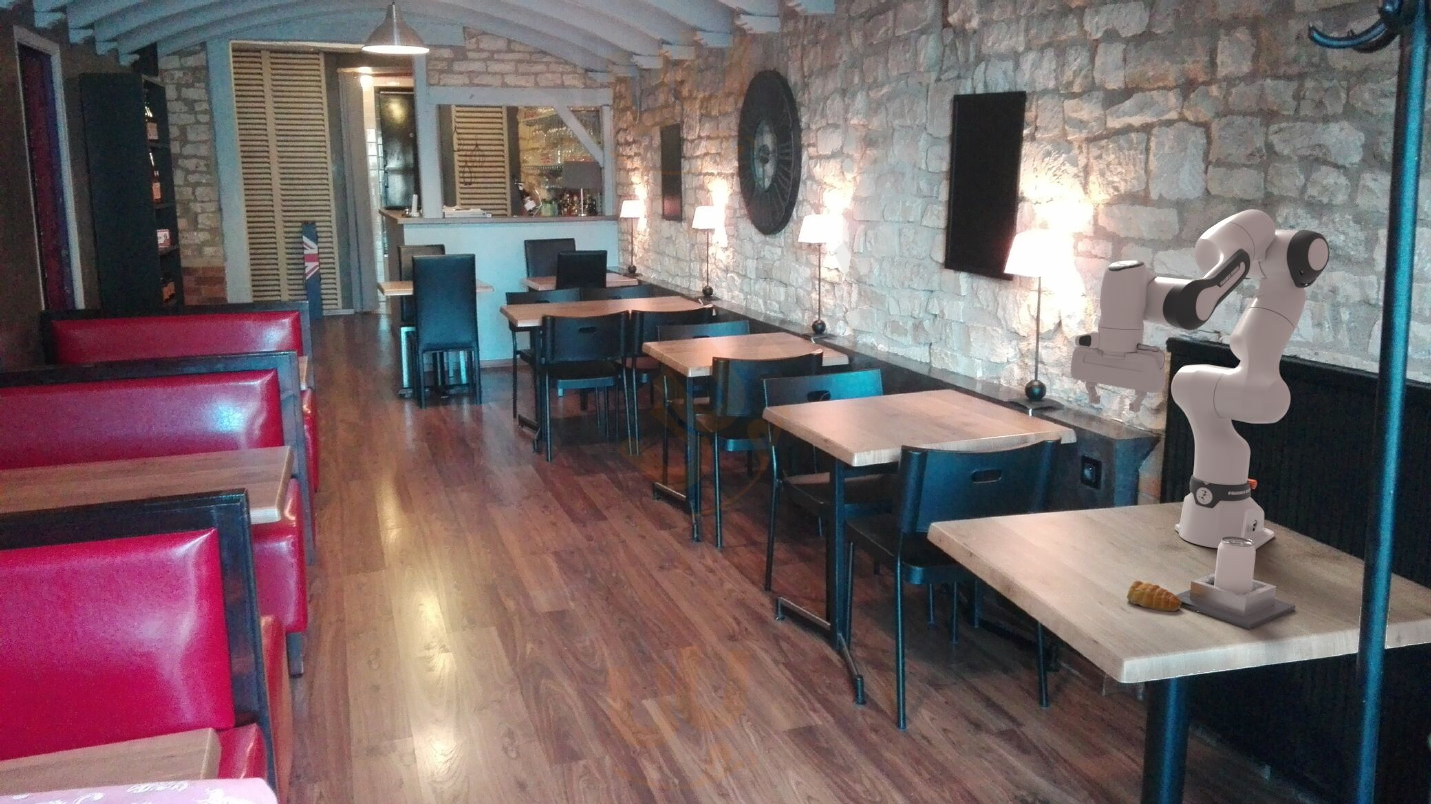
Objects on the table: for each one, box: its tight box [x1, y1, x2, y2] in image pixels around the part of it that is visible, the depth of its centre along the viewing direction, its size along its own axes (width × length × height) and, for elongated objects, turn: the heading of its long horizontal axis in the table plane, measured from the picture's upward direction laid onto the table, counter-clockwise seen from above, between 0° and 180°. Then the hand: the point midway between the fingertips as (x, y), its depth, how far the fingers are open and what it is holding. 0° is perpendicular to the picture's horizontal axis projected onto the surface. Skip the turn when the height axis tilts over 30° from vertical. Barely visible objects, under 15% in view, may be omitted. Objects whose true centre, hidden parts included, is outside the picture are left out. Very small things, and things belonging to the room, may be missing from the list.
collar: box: [1174, 572, 1296, 630], centre depth 212 cm, size 16×16×4 cm
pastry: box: [1126, 580, 1182, 612], centre depth 213 cm, size 9×7×4 cm
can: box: [1214, 536, 1256, 595], centre depth 211 cm, size 6×6×12 cm
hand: (1114, 407), depth 231 cm, fingers open, 8 cm apart
